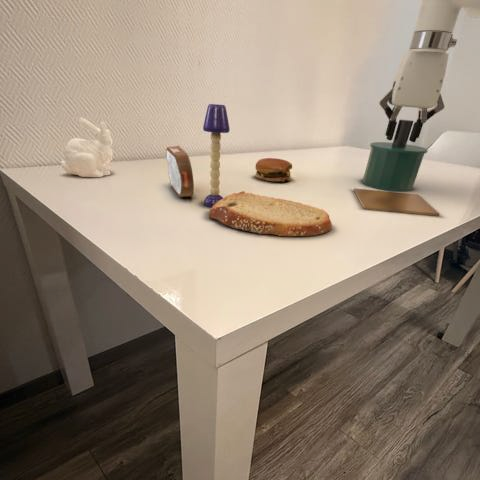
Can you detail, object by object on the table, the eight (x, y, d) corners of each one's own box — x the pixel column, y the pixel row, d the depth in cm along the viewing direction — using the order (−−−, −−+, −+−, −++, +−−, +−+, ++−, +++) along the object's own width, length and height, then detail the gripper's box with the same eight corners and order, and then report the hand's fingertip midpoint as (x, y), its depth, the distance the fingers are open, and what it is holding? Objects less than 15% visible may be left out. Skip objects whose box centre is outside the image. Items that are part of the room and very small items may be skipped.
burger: (255, 173, 90) (257, 154, 87) (289, 176, 90) (292, 157, 87) (253, 182, 82) (255, 161, 79) (291, 185, 82) (294, 164, 79)
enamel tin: (405, 181, 92) (416, 147, 87) (418, 193, 82) (431, 155, 77) (359, 177, 93) (368, 143, 88) (367, 188, 83) (377, 151, 78)
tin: (195, 202, 66) (194, 155, 61) (179, 202, 65) (177, 155, 60) (180, 183, 78) (178, 142, 73) (166, 183, 77) (163, 142, 72)
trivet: (417, 196, 80) (417, 194, 79) (438, 216, 67) (439, 213, 67) (353, 190, 81) (354, 188, 80) (363, 209, 69) (364, 206, 68)
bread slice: (340, 230, 57) (345, 209, 55) (254, 248, 49) (256, 224, 47) (277, 201, 69) (279, 183, 67) (200, 212, 61) (199, 191, 59)
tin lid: (416, 149, 88) (426, 120, 84) (433, 158, 77) (445, 125, 73) (365, 145, 89) (372, 116, 85) (374, 154, 78) (383, 120, 74)
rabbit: (115, 170, 84) (107, 115, 77) (121, 179, 78) (112, 119, 71) (63, 171, 80) (49, 113, 73) (63, 181, 73) (48, 118, 66)
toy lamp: (203, 200, 68) (202, 102, 58) (226, 200, 68) (229, 104, 58) (203, 207, 64) (202, 104, 54) (228, 208, 64) (231, 106, 54)
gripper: (463, 48, 73) (431, 141, 84) (384, 44, 75) (362, 135, 85) (478, 45, 67) (441, 145, 78) (392, 40, 69) (367, 139, 79)
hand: (400, 139), depth 81 cm, fingers open, 4 cm apart
